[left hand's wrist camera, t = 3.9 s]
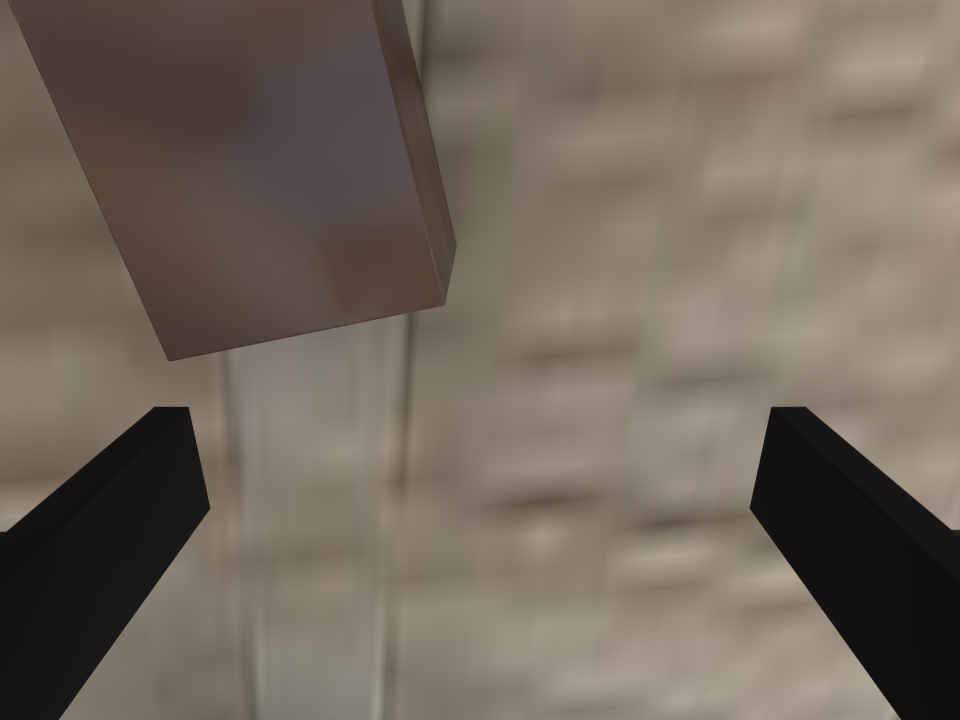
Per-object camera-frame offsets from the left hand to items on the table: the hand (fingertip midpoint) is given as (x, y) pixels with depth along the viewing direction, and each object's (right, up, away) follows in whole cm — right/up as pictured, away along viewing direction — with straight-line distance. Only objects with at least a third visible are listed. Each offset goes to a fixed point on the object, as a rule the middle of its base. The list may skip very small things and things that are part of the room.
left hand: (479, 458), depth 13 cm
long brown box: (-8, +15, +15) cm, 23 cm away
